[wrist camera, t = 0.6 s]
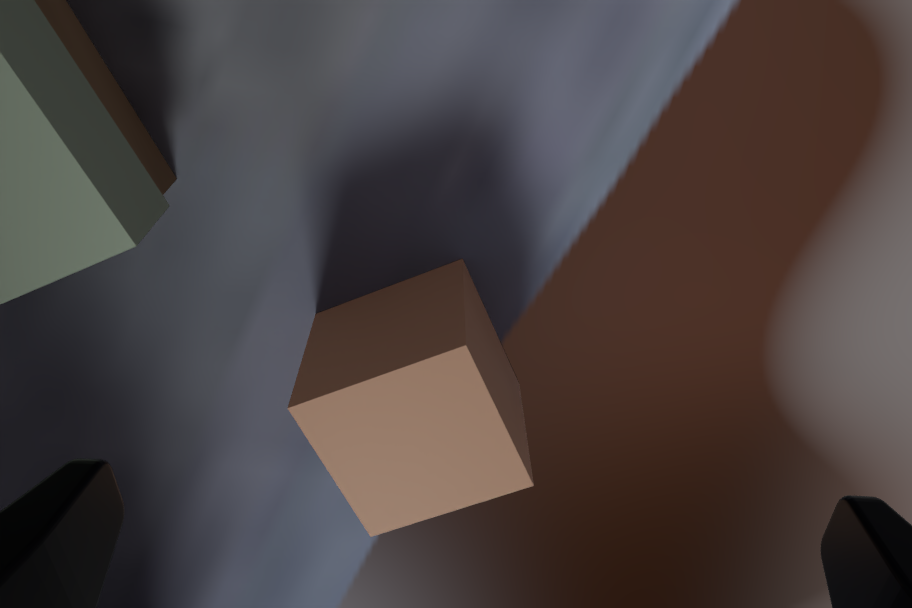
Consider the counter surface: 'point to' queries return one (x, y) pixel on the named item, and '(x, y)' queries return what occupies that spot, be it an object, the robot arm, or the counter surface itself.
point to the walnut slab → (107, 89)
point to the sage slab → (60, 163)
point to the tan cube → (413, 401)
